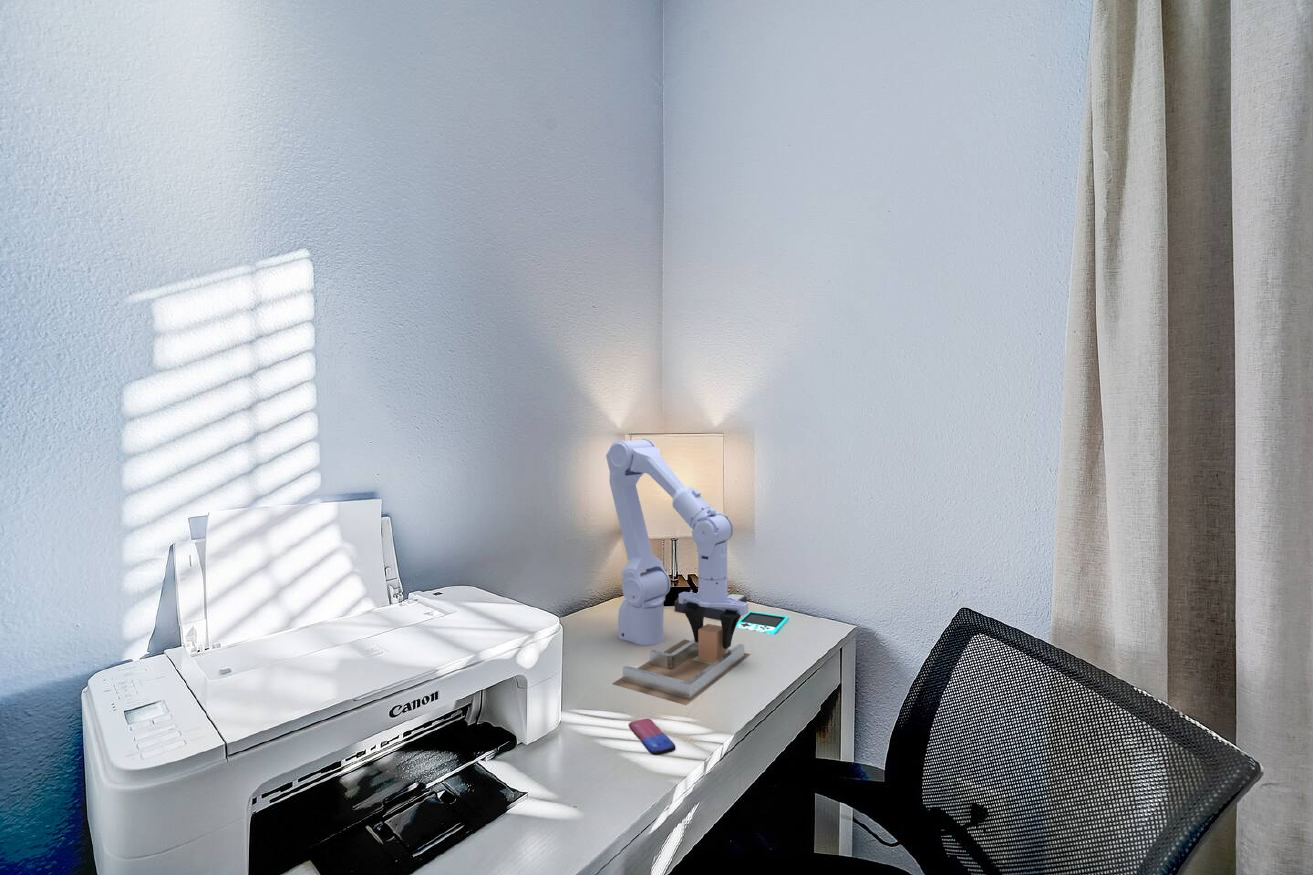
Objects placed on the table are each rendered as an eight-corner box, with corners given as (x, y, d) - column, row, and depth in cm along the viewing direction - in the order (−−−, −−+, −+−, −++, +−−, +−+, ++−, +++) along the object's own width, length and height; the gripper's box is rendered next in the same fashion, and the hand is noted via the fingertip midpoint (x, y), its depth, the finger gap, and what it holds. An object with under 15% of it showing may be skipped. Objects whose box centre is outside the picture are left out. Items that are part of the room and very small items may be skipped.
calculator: (694, 587, 168) (747, 593, 160) (695, 603, 168) (747, 610, 160) (673, 598, 159) (727, 604, 151) (674, 615, 159) (728, 622, 151)
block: (698, 659, 126) (698, 629, 125) (707, 652, 129) (707, 623, 129) (716, 663, 123) (716, 633, 123) (725, 656, 127) (725, 627, 127)
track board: (612, 689, 115) (611, 683, 115) (684, 643, 137) (684, 638, 137) (686, 710, 107) (686, 704, 107) (750, 658, 128) (750, 653, 128)
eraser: (624, 730, 101) (623, 719, 101) (647, 724, 103) (647, 713, 103) (652, 764, 91) (652, 752, 91) (678, 757, 93) (677, 745, 92)
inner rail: (649, 664, 124) (649, 651, 124) (683, 643, 135) (683, 631, 134) (671, 669, 121) (671, 656, 121) (704, 647, 132) (704, 635, 132)
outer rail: (622, 680, 116) (622, 667, 116) (683, 643, 135) (683, 631, 134) (689, 699, 109) (689, 685, 108) (744, 656, 127) (744, 644, 127)
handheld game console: (726, 635, 143) (726, 630, 143) (749, 615, 157) (749, 609, 157) (769, 643, 138) (769, 637, 138) (789, 621, 153) (789, 615, 153)
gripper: (670, 575, 126) (670, 643, 127) (737, 586, 118) (737, 658, 119) (688, 568, 132) (688, 632, 133) (752, 577, 124) (752, 646, 125)
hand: (712, 643), depth 126 cm, fingers open, 6 cm apart
